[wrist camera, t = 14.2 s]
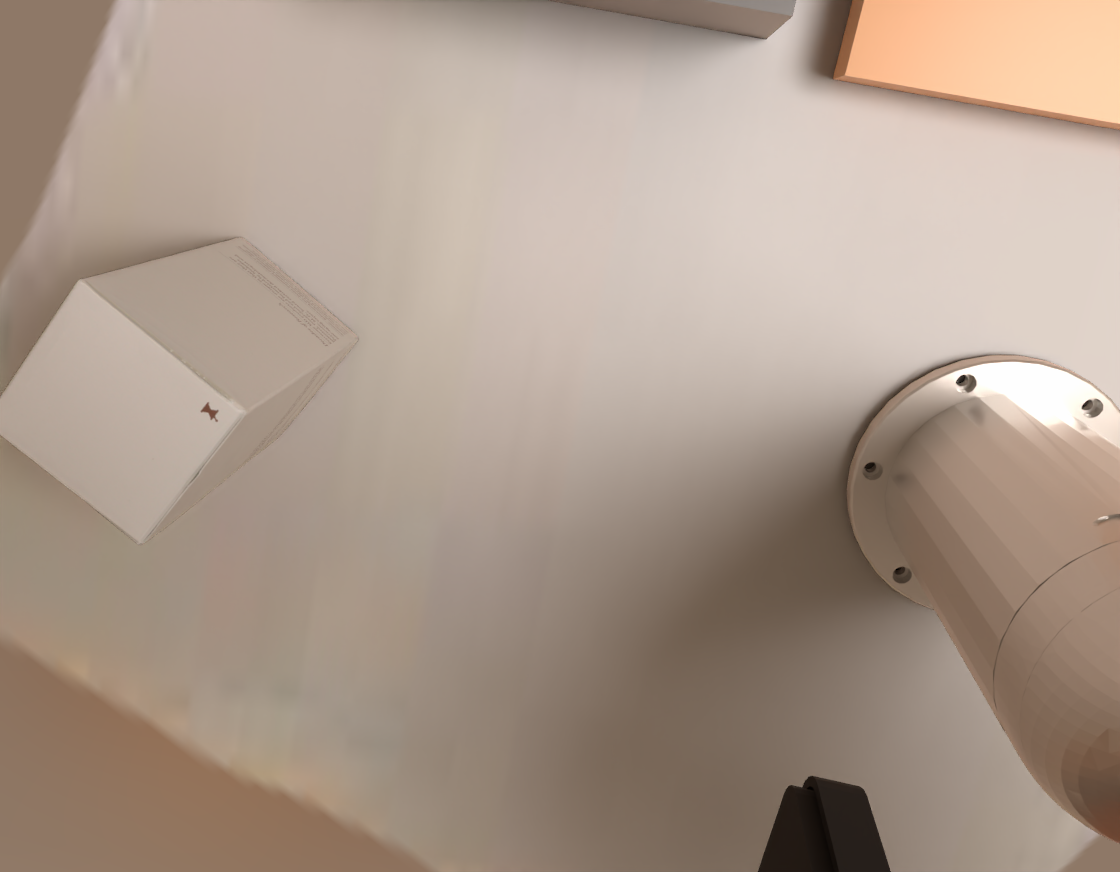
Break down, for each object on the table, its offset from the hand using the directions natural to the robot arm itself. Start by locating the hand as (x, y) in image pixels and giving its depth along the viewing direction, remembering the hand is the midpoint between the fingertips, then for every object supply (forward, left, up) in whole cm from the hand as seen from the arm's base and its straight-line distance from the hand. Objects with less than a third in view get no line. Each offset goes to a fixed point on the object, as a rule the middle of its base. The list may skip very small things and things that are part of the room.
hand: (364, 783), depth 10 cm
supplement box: (+15, +5, -34) cm, 37 cm away
